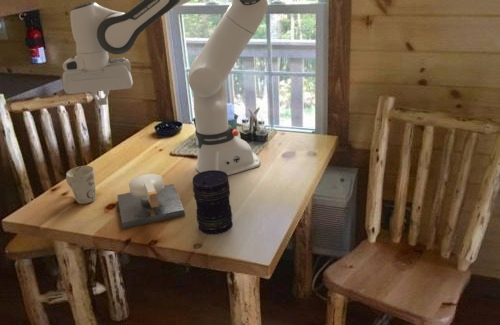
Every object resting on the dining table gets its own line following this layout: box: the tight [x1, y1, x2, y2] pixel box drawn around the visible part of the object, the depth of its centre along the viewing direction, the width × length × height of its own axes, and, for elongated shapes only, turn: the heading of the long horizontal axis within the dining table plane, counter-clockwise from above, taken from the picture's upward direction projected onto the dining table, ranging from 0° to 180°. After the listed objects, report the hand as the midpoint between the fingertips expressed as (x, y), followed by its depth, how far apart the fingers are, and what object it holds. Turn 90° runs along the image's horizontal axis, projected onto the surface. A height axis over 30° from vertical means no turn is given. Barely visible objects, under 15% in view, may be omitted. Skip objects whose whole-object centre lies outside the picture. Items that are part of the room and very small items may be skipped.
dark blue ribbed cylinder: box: [192, 170, 233, 236], centre depth 138 cm, size 10×10×15 cm
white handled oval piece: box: [128, 173, 165, 208], centre depth 145 cm, size 18×10×5 cm, turn 21°
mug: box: [65, 165, 97, 205], centre depth 159 cm, size 8×13×10 cm, turn 58°
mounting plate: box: [116, 183, 186, 229], centre depth 151 cm, size 18×18×6 cm
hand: (102, 104), depth 154 cm, fingers closed
